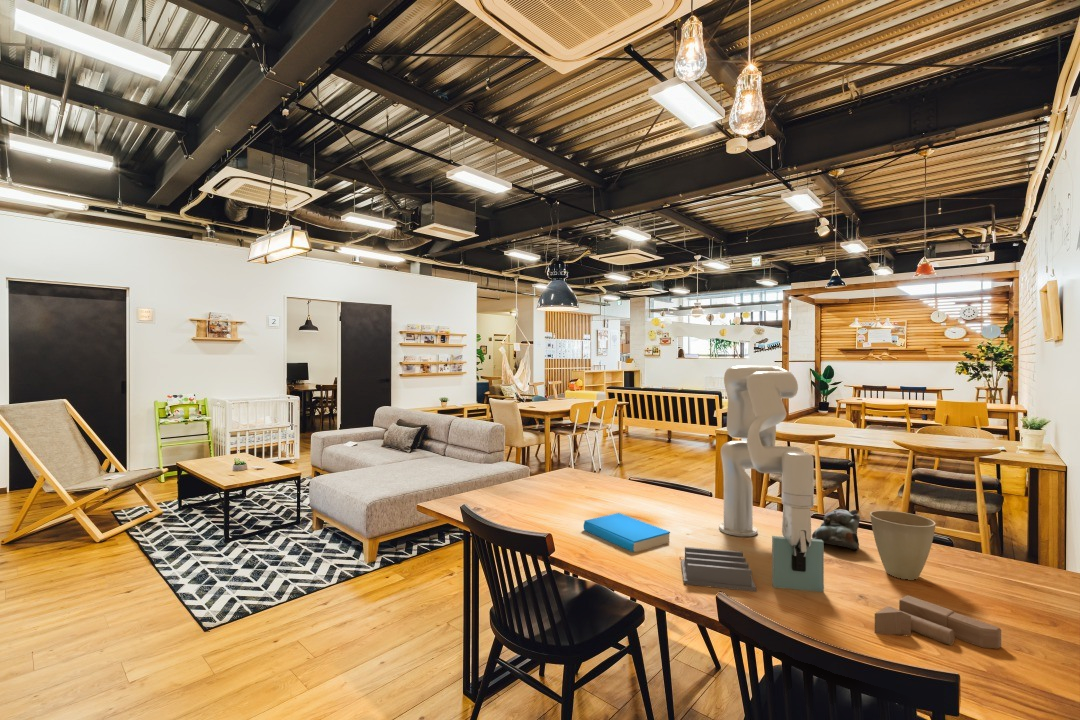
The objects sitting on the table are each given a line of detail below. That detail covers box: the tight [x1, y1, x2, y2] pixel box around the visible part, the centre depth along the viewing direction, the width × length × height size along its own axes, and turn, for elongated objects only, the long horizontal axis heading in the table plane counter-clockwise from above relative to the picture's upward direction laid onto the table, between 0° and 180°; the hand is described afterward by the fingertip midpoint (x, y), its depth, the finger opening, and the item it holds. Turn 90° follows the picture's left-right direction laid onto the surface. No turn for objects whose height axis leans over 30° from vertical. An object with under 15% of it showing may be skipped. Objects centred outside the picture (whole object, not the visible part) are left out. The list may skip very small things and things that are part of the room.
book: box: [583, 512, 671, 553], centre depth 170 cm, size 17×4×25 cm
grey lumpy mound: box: [811, 508, 861, 552], centre depth 162 cm, size 15×12×14 cm
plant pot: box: [869, 510, 937, 581], centre depth 139 cm, size 15×15×16 cm
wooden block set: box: [874, 595, 1002, 650], centre depth 107 cm, size 17×6×18 cm
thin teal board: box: [771, 535, 825, 593], centre depth 131 cm, size 2×12×13 cm, turn 77°
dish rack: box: [680, 546, 757, 592], centre depth 138 cm, size 15×18×5 cm
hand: (797, 568), depth 131 cm, fingers closed on thin teal board, 1 cm apart
